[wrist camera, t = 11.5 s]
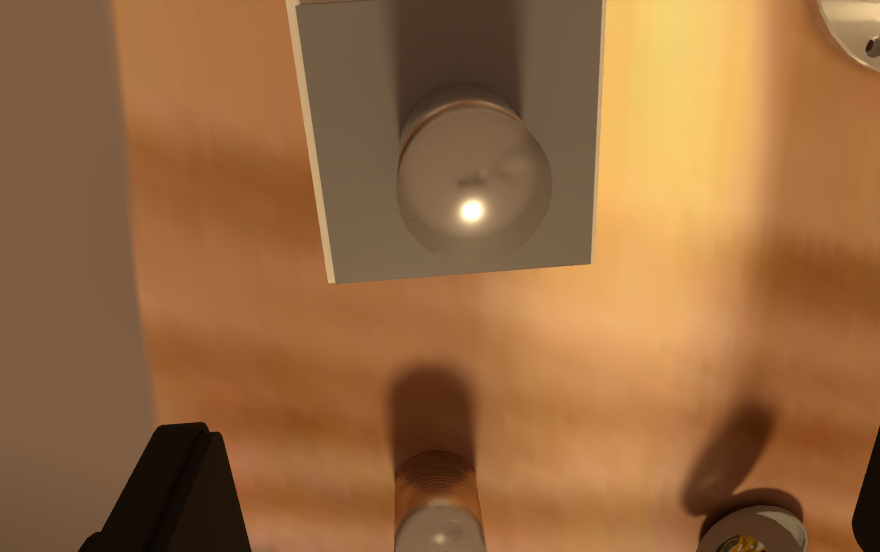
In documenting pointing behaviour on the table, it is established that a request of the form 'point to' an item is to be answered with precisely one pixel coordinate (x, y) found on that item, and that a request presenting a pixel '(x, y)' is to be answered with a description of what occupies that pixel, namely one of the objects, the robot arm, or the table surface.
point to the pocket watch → (756, 532)
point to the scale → (418, 73)
